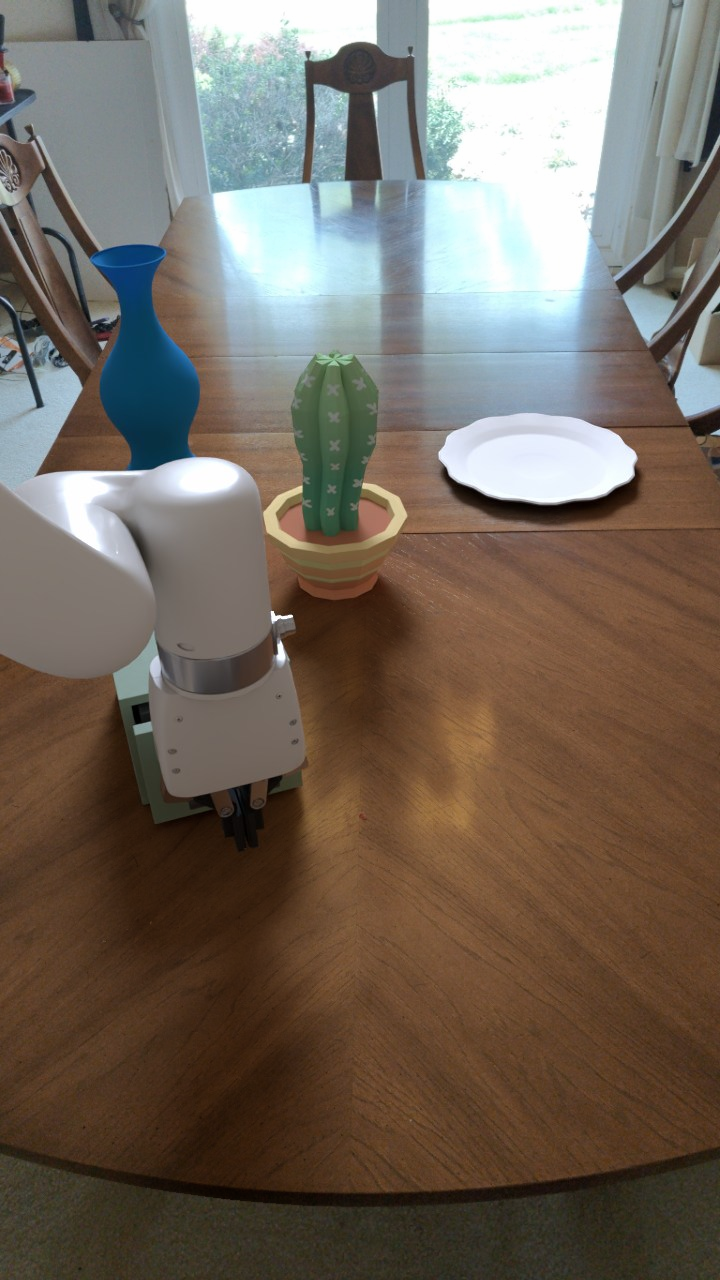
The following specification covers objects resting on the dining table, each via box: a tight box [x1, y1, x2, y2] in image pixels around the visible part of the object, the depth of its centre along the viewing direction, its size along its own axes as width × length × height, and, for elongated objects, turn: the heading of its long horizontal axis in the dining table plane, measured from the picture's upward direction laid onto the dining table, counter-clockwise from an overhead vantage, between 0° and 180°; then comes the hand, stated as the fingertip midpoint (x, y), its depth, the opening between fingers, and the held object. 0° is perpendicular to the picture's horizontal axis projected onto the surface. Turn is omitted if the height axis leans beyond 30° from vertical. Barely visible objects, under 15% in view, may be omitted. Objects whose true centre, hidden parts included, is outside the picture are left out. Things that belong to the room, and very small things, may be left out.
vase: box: [89, 243, 201, 471], centre depth 120 cm, size 12×13×28 cm
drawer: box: [133, 702, 304, 825], centre depth 82 cm, size 19×12×10 cm, turn 19°
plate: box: [438, 412, 639, 507], centre depth 127 cm, size 25×25×2 cm
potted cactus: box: [262, 349, 409, 601], centre depth 101 cm, size 15×16×25 cm
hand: (243, 835), depth 75 cm, fingers closed
